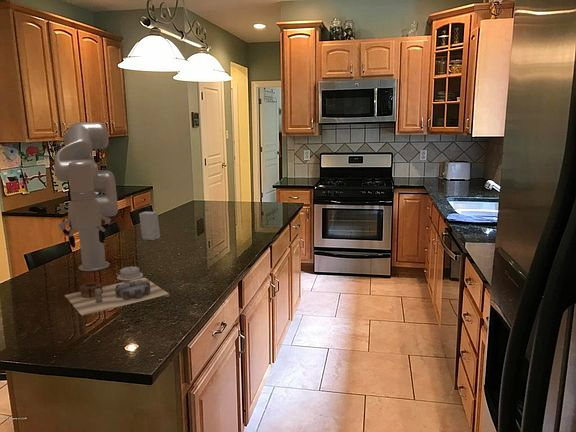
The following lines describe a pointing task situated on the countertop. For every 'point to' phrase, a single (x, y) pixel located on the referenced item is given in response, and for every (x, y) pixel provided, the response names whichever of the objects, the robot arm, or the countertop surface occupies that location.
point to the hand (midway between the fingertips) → (87, 244)
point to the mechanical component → (130, 273)
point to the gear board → (116, 296)
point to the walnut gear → (90, 289)
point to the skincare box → (149, 225)
